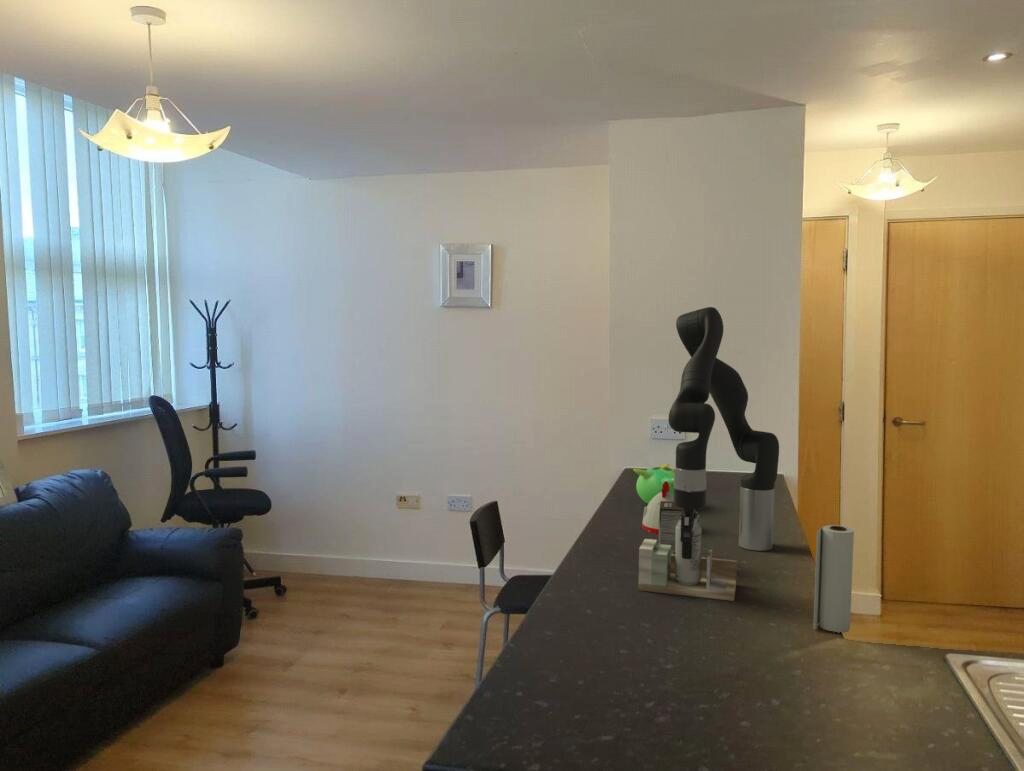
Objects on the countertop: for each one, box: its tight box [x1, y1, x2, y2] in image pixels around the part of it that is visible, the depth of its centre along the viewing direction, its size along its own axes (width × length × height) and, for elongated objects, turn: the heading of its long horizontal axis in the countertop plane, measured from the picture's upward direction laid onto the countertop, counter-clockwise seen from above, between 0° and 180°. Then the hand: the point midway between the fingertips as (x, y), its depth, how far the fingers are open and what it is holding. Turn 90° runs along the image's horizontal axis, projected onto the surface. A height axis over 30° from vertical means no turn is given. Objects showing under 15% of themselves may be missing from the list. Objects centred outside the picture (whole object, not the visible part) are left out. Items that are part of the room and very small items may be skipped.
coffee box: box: [658, 501, 684, 555], centre depth 206 cm, size 9×6×16 cm
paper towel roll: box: [812, 524, 855, 634], centre depth 163 cm, size 7×6×21 cm
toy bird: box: [632, 463, 675, 505], centre depth 272 cm, size 18×17×15 cm
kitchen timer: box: [641, 481, 674, 535], centre depth 242 cm, size 14×14×15 cm
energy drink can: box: [675, 519, 703, 586], centre depth 187 cm, size 6×6×15 cm
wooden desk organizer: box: [637, 538, 738, 602], centre depth 188 cm, size 12×22×10 cm, turn 72°
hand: (688, 553), depth 187 cm, fingers open, 8 cm apart
